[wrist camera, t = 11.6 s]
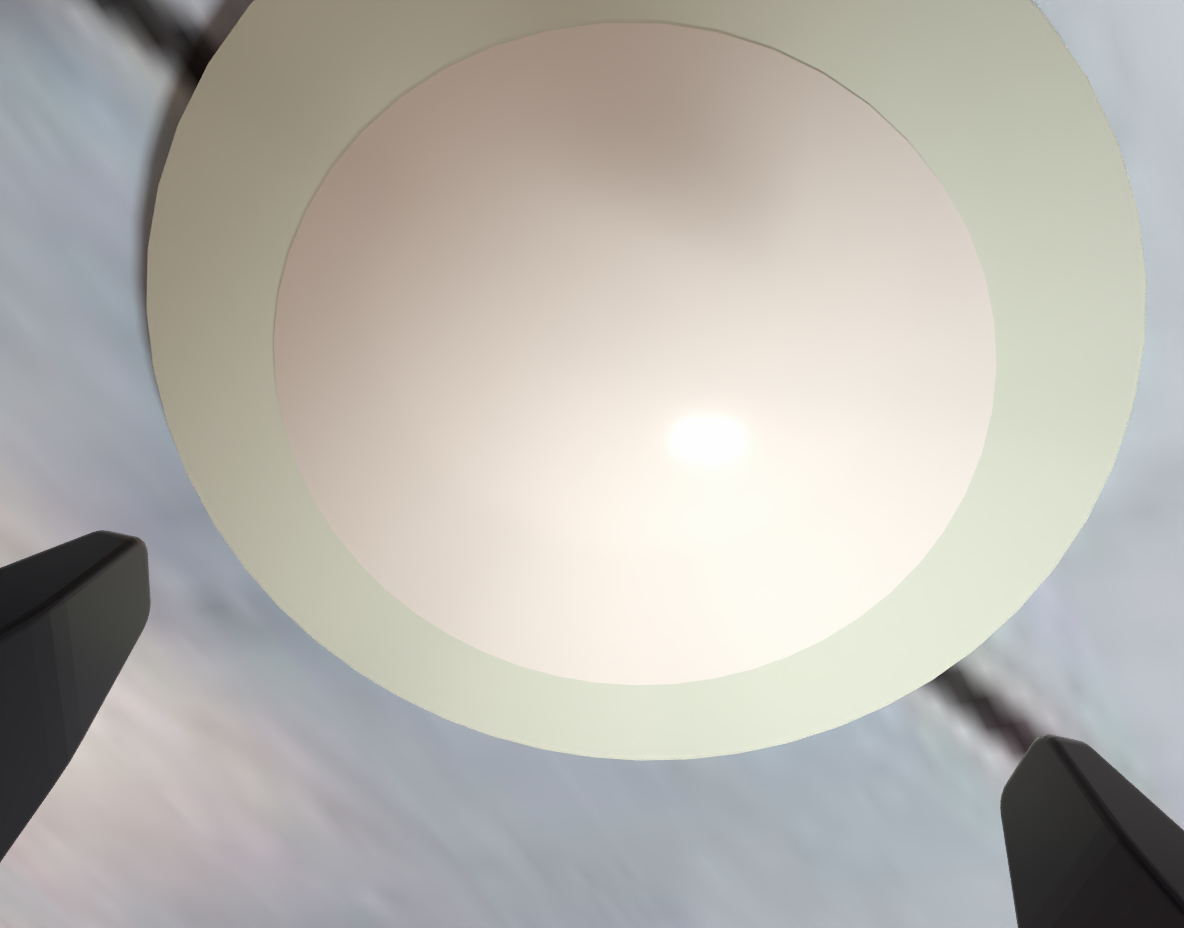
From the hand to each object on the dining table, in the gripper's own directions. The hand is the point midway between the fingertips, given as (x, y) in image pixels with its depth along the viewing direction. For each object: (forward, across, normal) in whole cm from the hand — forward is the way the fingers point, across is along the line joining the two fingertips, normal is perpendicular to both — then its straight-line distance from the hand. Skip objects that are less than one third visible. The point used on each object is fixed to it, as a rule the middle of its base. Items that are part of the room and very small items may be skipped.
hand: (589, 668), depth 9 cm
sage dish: (+6, 0, 0) cm, 6 cm away
